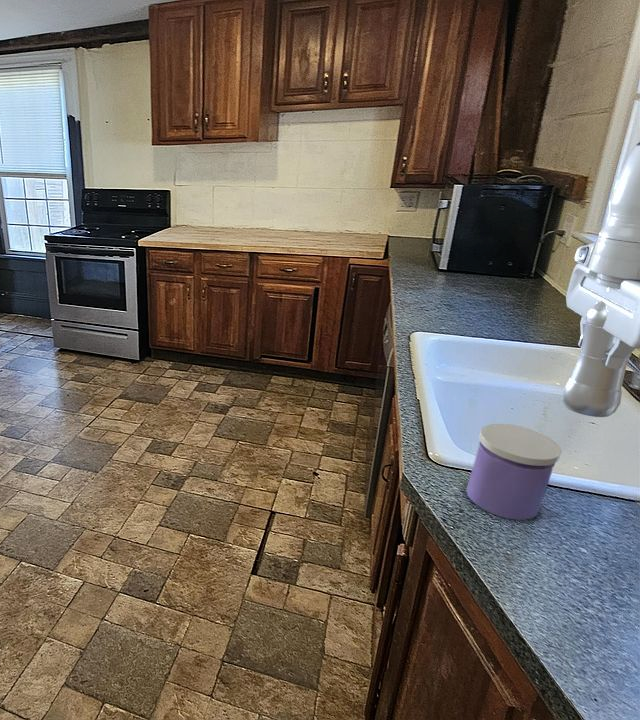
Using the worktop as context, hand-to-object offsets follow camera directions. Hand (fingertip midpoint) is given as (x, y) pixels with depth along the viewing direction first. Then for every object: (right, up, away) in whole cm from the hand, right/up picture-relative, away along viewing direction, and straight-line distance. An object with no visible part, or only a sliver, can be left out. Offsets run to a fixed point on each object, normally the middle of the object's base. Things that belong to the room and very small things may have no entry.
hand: (597, 357), depth 76 cm
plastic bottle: (0, -8, +3) cm, 9 cm away
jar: (-2, -25, +18) cm, 31 cm away
